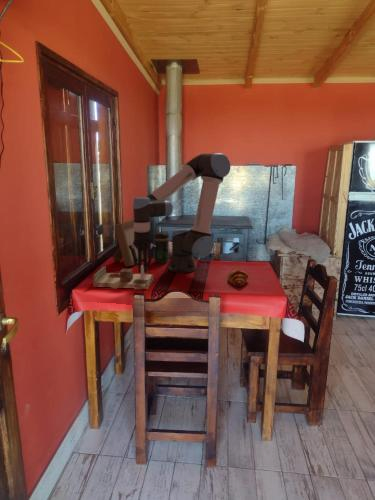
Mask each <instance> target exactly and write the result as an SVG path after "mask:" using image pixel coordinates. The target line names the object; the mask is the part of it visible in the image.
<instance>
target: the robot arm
mask: <svg viewBox="0 0 375 500" xmlns="http://www.w3.org/2000/svg"><path fill="white" fill-rule="evenodd" d="M230 171H231V161H230V160H229V158H228V156H227V155H226V154H224V153H218V152H215V153H213V152H211V153H200V154H198V155H196V156H194V157H193V158H192V159H190V160H189V161H187V162H186V163H185V164H183V165H182V168H181V169H180V170H178V172H176V173H175V174H174V175H172V177H170V178H169V179H167V180H166V181H164V183H162V184H161V185H160V186H158V187H157V188H156V189H154V190H153V191H152V192H150V194H148V195H147V196H144V197H143V196H139V197H137V196H136V197H134V198H133V201H132V202H133V205H132V211H133V219H134V230H135V231H134V242H133V244H131V245H129V248H130V250H131V253H132V256H133V260H134V265H135V266H137V267H138V274H141V280H144V279H145V274H147V272H148V266H150V265H151V264H152V259H153V257H154V253H155V248H156V245H155V244H153V243H152V240H151V218H159V217H168V216H170V215H172V213H173V210H174V209H173V208H174V207H173V204H172V202H171V201H170V200H168V199H170V198H171V197H172V196H173V195H174V194H175V193H176V192H178V191H179V190H180V189H182V188H183V187H184V186H185V185H187V184H188V183H189V182H190V181H195V180H196V179H198V178H199V177H200V179H201V180H202V184H201V188H200V192H199V193H200V195H199V199H198V204H197V209H196V214H195V217H194V218H195V219H194V222H193V226H192V227H190V228H189V227H187V228H178V229H177V228H176V229H174V230H172V234H171V247H172V249H171V251H172V252H171V253H172V254H171V255H172V256H171V258H170V262H169V264H168V266H169V267H168V269H169V271H171V272H174V273H178V274H179V273H191V272H195V271H196V270H197V268H196V267H197V266H196V262H195V259H194V257H196V258H206V257H207V256H209V255H210V254H211V253H212V252H213V250H214V247H215V246H214V244H215V243H214V240H213V237H212V231H211V224H212V219H213V216H214V209H215V205H216V201H217V196H218V191H219V186H220V185H221V184H222V183H224V182H223V181H224V178H225V177H227V176H228V175H229V173H230ZM134 246H135V247H136V248H137V249H138V260H137V256H136V252H135V249H134ZM148 249H150V251H149V256H148ZM142 250H143V258H144V259H143V260H142ZM147 256H148V257H147Z"/></svg>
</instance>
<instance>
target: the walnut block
mask: <svg viewBox="0 0 375 500" xmlns="http://www.w3.org/2000/svg"><path fill="white" fill-rule="evenodd" d="M133 271H134V269H132V268H122V269H121V270H120V271H119V273H120V282H131V281H132V279H133V274H134V272H133Z"/></svg>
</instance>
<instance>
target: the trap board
mask: <svg viewBox="0 0 375 500" xmlns="http://www.w3.org/2000/svg"><path fill="white" fill-rule="evenodd" d="M106 269H107V267H106V266H105V265H104V266H102V267H101V268H100V269H99V270H98V271H96V272H95V274H93V275H92V279H93V284H92V285H93V287H94V286H98V287H111V288H110V289H117V288H134V289H133V290H142V289H147V290H148V289H149V288H150V286H151V284H152V282H153V280H154V274H153V273H152V274H148V273H145V279H144V280H141V273H133V279H132V281H131V282H120V272H119V273H118V272H116V273H115V272H107V270H106ZM112 277H113V278H112Z"/></svg>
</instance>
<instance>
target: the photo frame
mask: <svg viewBox="0 0 375 500" xmlns="http://www.w3.org/2000/svg"><path fill="white" fill-rule="evenodd" d="M114 230H115V233H116V237H117V242H118V245H119V248H118V249H117V250H116V252H115V253H114V255H113V263H114V262H116V263H118V262H117V261H122V260H123V264H124V267H125V266H127V267H132V266H134V265H135V264H134V260H133V256H132V253H131V250H130V248H129V245H131V244H133V242H134V231H135V230H134V218H133V219H130V220H127V221H124V222H121V223H117V224H114ZM134 249H135V252H136V256H137V260H138V249H137V248H136V247H135V246H134ZM147 258H149V256H148V255H147ZM142 261H144V258H143V250H142Z"/></svg>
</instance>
